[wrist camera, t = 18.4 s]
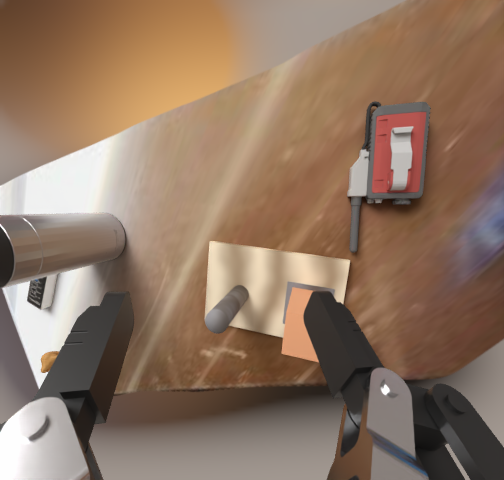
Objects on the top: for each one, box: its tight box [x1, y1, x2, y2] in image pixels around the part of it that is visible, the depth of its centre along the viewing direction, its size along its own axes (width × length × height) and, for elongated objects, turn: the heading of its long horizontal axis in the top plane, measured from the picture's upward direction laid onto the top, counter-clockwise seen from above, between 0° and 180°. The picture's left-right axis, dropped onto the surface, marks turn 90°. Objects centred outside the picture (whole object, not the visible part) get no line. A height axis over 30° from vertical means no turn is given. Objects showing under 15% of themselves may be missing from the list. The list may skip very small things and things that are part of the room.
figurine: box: [41, 351, 59, 373], centre depth 43 cm, size 8×6×12 cm
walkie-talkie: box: [347, 102, 431, 253], centre depth 31 cm, size 9×4×20 cm
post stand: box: [205, 241, 350, 338], centre depth 33 cm, size 22×14×11 cm, turn 84°
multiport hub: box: [27, 274, 58, 310], centre depth 50 cm, size 4×14×2 cm, turn 158°
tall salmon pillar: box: [281, 287, 319, 362], centre depth 32 cm, size 5×5×9 cm
